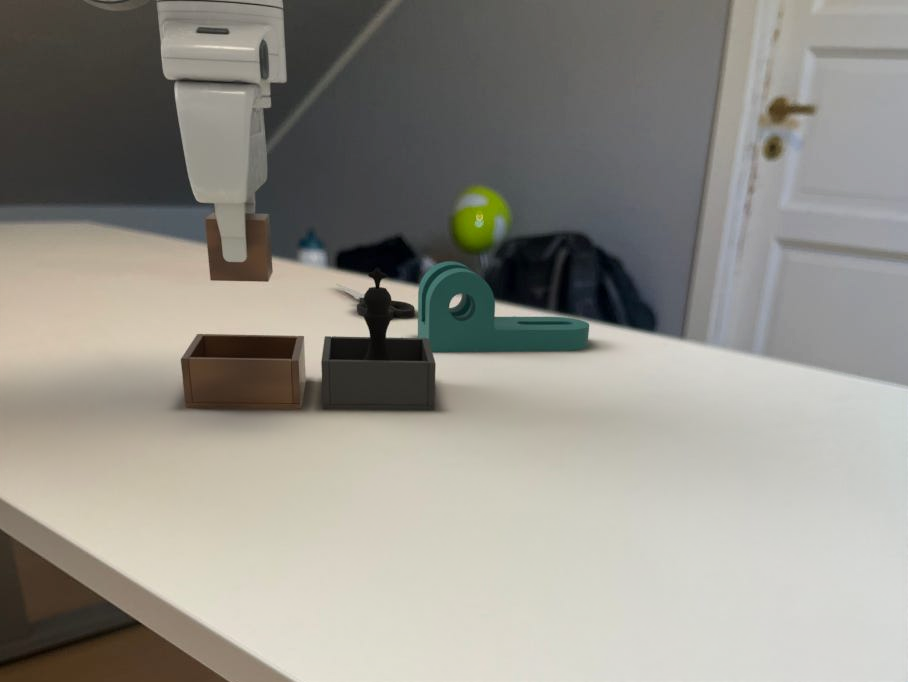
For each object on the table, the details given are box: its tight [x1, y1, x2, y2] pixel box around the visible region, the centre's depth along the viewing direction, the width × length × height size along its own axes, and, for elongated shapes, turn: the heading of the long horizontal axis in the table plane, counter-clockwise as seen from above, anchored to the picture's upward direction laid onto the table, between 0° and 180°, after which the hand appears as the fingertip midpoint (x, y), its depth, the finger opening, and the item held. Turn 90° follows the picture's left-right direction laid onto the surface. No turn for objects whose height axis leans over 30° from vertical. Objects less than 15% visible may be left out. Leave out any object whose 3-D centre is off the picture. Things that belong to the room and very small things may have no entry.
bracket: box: [417, 260, 590, 353], centre depth 102 cm, size 18×7×8 cm, turn 103°
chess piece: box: [363, 267, 393, 361], centre depth 82 cm, size 4×4×10 cm
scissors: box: [335, 283, 416, 319], centre depth 120 cm, size 7×1×20 cm
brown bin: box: [180, 333, 307, 410], centre depth 82 cm, size 9×9×4 cm
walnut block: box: [204, 211, 274, 283], centre depth 78 cm, size 4×4×4 cm
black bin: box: [320, 335, 436, 412], centre depth 83 cm, size 9×9×4 cm
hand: (240, 255), depth 78 cm, fingers closed on walnut block, 4 cm apart
